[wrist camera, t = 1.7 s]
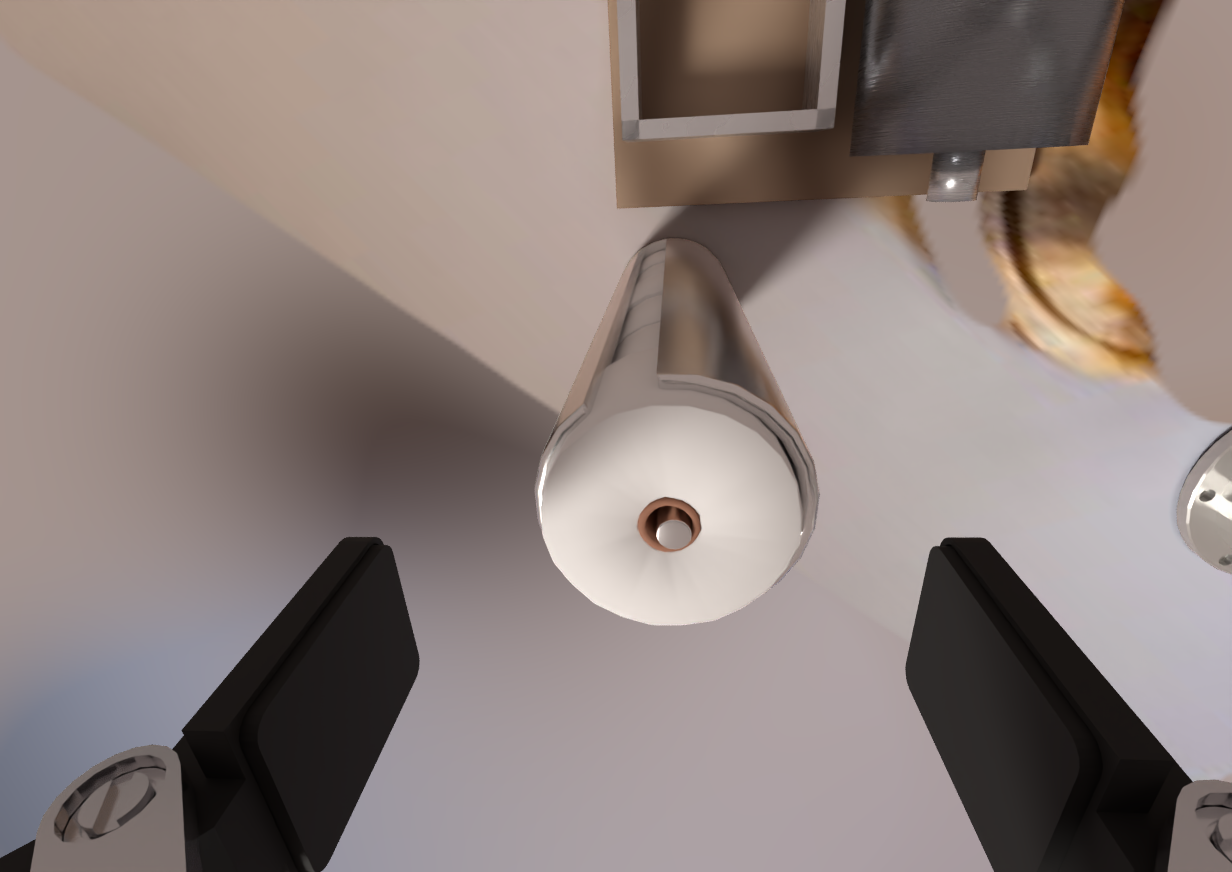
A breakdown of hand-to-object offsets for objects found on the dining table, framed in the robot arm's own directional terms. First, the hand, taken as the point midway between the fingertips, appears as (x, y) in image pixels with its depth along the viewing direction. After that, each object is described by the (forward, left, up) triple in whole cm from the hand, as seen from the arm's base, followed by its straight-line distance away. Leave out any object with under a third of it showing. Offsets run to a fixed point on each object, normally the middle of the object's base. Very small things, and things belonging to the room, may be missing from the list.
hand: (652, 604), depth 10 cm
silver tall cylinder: (0, 0, -28) cm, 28 cm away
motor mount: (-8, -13, -27) cm, 31 cm away
